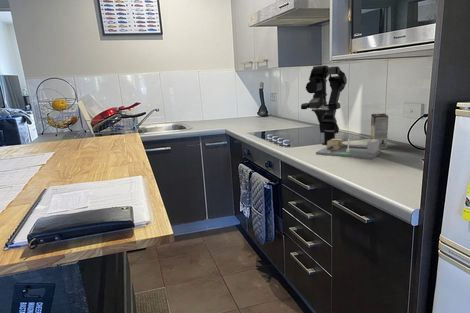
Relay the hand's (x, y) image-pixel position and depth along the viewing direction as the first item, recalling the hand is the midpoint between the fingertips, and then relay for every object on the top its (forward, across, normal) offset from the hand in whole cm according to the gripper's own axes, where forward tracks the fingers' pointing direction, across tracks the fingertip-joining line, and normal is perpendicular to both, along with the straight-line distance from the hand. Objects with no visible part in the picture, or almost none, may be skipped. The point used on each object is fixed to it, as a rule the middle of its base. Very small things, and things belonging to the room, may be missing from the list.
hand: (320, 123), depth 168 cm
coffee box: (+13, +25, +13) cm, 31 cm away
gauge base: (+13, +16, -5) cm, 21 cm away
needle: (+11, +18, -11) cm, 23 cm away
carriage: (+12, +9, -5) cm, 15 cm away
